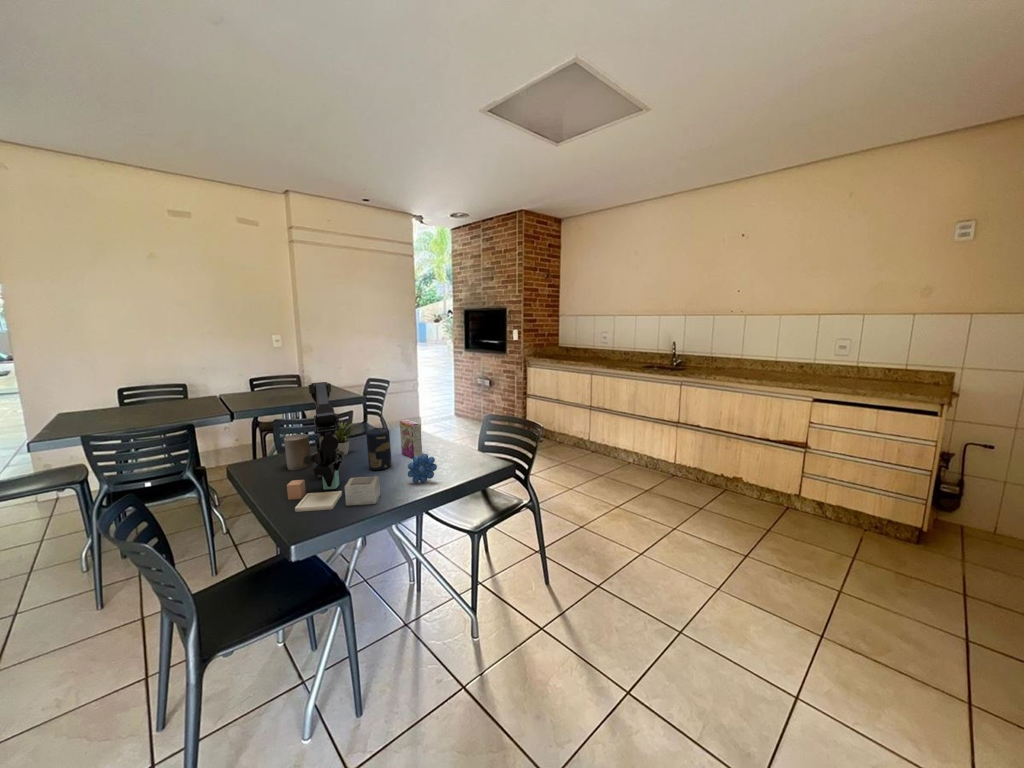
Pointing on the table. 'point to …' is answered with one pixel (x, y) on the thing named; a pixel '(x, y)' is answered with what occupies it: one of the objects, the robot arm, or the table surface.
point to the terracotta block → (296, 489)
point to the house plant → (343, 438)
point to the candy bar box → (411, 438)
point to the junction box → (362, 491)
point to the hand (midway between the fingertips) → (331, 484)
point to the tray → (318, 501)
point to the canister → (378, 448)
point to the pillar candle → (296, 451)
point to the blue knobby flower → (422, 468)
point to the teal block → (334, 482)
